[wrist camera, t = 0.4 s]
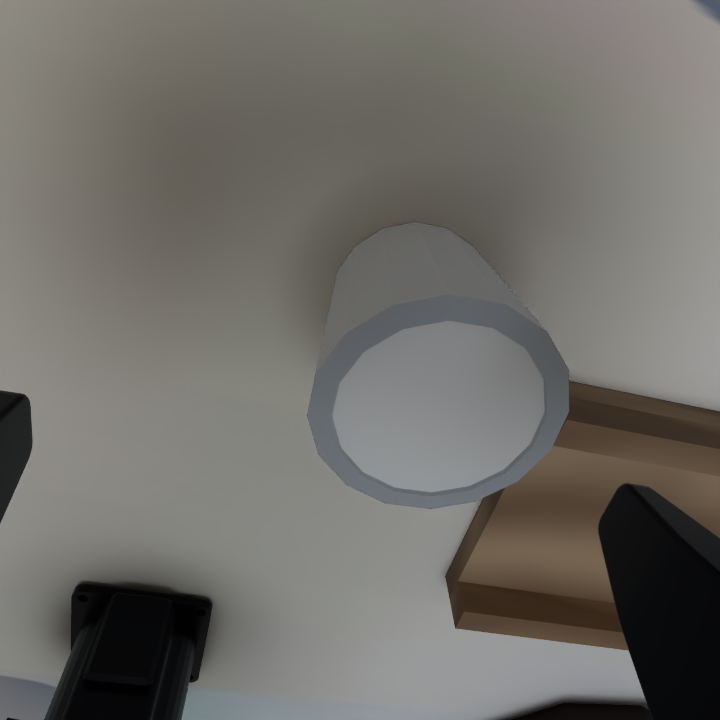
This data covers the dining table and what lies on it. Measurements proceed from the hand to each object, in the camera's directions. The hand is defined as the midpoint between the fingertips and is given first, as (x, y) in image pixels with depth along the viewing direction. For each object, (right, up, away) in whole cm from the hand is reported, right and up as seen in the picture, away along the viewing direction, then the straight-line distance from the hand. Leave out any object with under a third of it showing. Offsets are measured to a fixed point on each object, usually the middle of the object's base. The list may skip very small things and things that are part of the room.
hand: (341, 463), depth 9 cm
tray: (+14, -6, +19) cm, 24 cm away
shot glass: (+2, +4, +13) cm, 13 cm away
